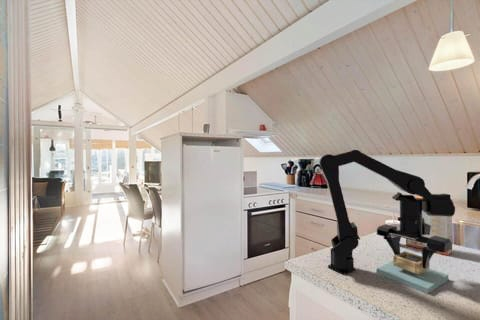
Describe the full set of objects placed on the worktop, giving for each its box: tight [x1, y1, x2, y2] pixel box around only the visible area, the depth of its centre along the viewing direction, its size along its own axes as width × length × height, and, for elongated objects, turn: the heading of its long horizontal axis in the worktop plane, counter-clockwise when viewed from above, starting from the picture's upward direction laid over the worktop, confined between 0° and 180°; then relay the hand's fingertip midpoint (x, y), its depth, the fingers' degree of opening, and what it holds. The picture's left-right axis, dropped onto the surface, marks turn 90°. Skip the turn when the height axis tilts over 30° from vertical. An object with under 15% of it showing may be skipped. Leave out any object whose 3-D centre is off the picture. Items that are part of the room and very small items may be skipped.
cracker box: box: [405, 195, 453, 256], centre depth 96 cm, size 14×6×21 cm, turn 34°
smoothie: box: [384, 211, 400, 230], centre depth 102 cm, size 6×6×14 cm
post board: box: [376, 256, 449, 295], centre depth 75 cm, size 14×14×6 cm
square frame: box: [392, 250, 430, 274], centre depth 75 cm, size 7×7×3 cm
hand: (411, 263), depth 75 cm, fingers closed on square frame, 7 cm apart
